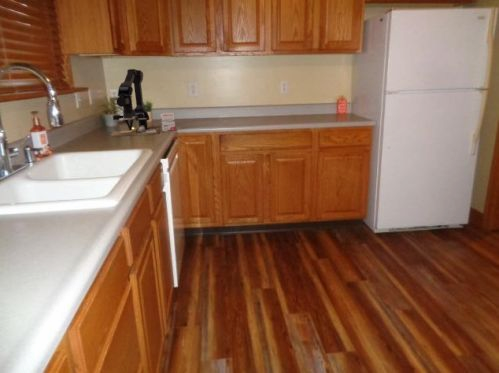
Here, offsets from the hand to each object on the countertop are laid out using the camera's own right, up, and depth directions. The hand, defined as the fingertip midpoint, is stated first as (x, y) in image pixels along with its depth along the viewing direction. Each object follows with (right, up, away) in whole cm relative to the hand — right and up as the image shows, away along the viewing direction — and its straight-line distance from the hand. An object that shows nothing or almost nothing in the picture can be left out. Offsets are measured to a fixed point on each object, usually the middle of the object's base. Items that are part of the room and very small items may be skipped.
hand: (130, 130), depth 243 cm
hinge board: (+3, -2, +1) cm, 4 cm away
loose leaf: (-1, -1, 0) cm, 2 cm away
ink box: (+22, +2, +13) cm, 26 cm away
